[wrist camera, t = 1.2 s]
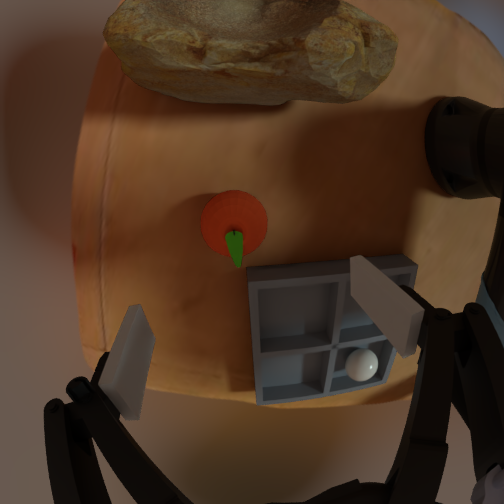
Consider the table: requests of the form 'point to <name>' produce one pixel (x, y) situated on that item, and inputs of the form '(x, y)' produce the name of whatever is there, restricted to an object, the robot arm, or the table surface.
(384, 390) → the table surface
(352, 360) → the cream egg
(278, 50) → the rough brown rock
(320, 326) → the divided tray
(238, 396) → the table surface
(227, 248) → the clementine
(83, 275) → the table surface
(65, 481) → the robot arm
